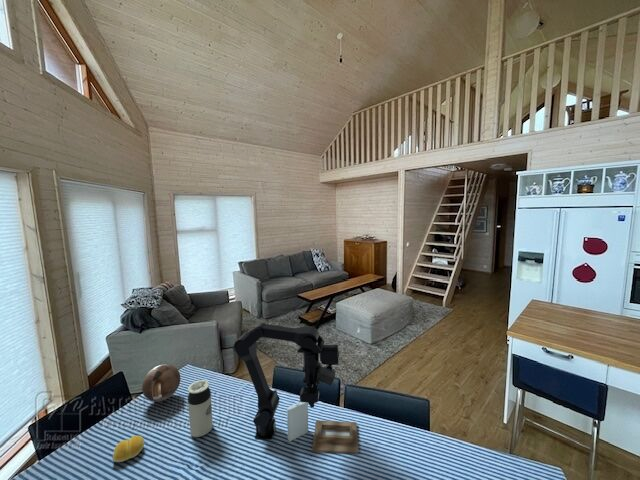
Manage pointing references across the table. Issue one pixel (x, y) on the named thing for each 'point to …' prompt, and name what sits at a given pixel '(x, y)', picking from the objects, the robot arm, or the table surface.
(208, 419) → the travel mug
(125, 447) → the bread roll
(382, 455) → the table surface
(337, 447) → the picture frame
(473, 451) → the table surface
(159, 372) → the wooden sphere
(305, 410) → the external hard drive
